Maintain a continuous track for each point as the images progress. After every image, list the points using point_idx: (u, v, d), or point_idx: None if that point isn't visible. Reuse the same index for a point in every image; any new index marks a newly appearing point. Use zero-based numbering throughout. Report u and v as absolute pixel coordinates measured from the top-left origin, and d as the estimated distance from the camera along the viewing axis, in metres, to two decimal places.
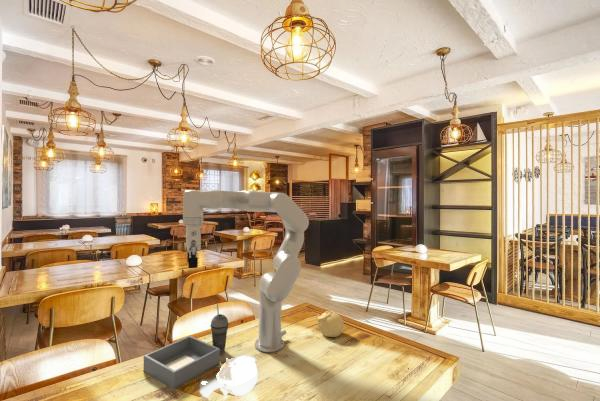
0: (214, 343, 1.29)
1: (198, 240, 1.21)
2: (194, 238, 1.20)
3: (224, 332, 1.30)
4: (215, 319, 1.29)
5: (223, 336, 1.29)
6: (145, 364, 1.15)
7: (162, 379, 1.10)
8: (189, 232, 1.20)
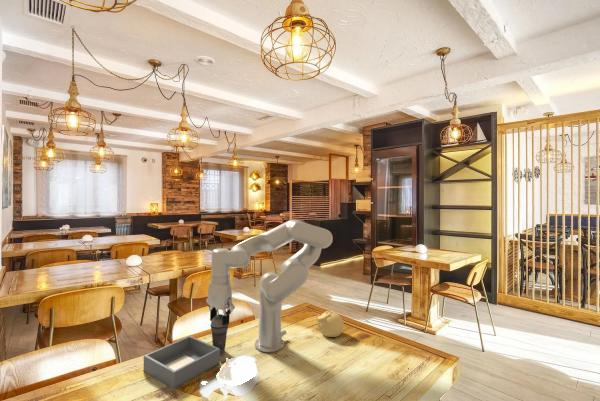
0: (214, 343, 1.29)
1: None
2: None
3: (224, 332, 1.30)
4: (215, 319, 1.29)
5: (223, 336, 1.29)
6: (145, 364, 1.15)
7: (162, 379, 1.10)
8: None
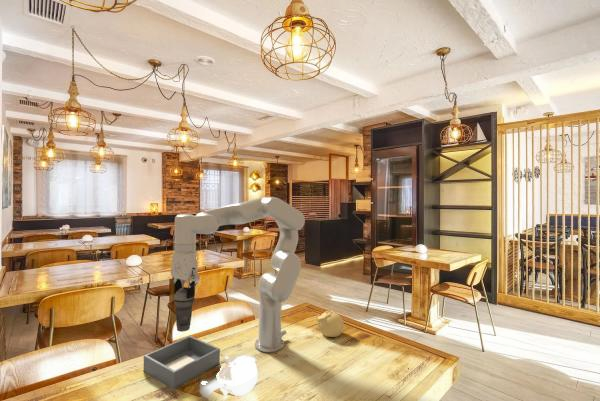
0: (177, 318, 1.17)
1: None
2: None
3: (189, 306, 1.17)
4: (179, 292, 1.17)
5: (187, 311, 1.17)
6: (145, 364, 1.15)
7: (162, 379, 1.10)
8: None
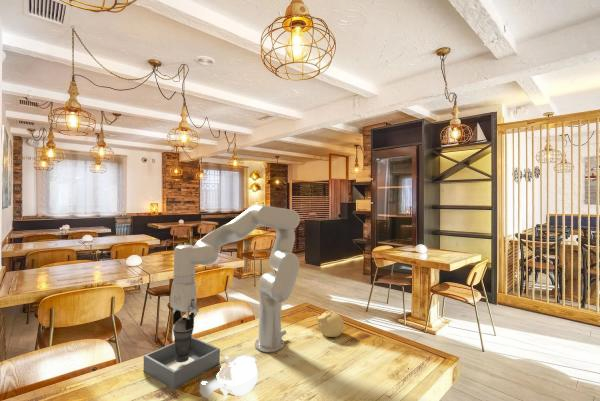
0: (176, 349, 1.17)
1: None
2: None
3: (188, 337, 1.17)
4: (178, 323, 1.17)
5: (186, 342, 1.17)
6: (145, 364, 1.15)
7: (162, 379, 1.10)
8: None
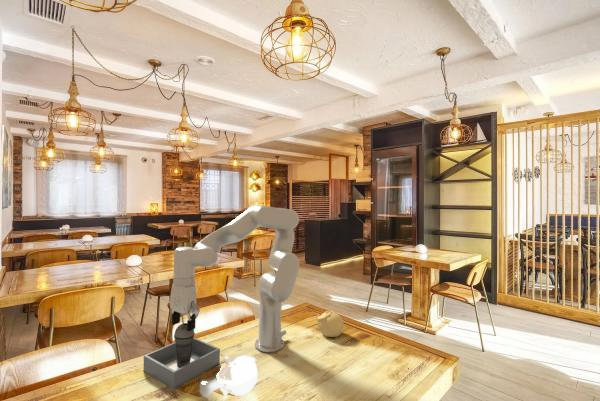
0: (177, 355, 1.17)
1: None
2: None
3: (189, 343, 1.17)
4: (179, 329, 1.17)
5: (187, 347, 1.17)
6: (145, 364, 1.15)
7: (162, 379, 1.10)
8: None
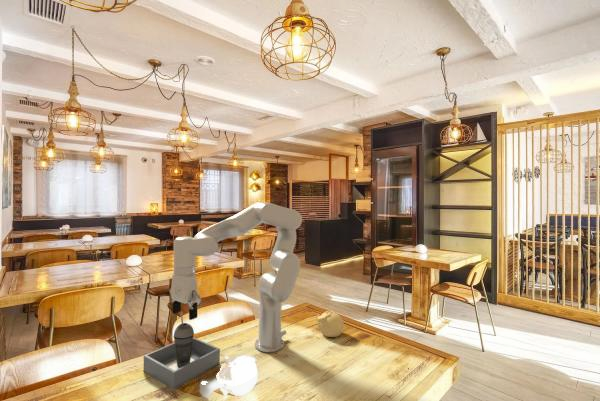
0: (177, 355, 1.17)
1: None
2: None
3: (188, 343, 1.17)
4: (178, 329, 1.17)
5: (187, 347, 1.17)
6: (145, 364, 1.15)
7: (162, 379, 1.10)
8: None
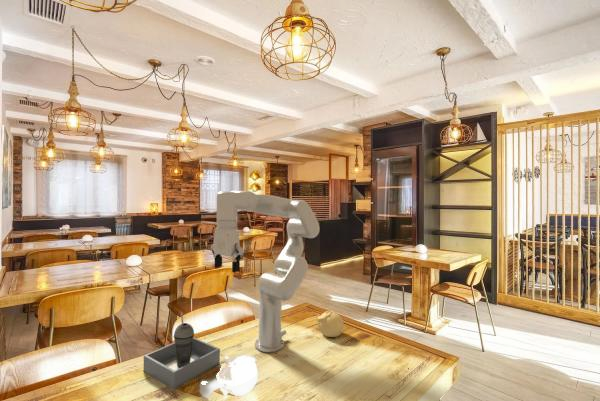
0: (177, 355, 1.17)
1: None
2: None
3: (189, 343, 1.17)
4: (178, 329, 1.17)
5: (187, 347, 1.17)
6: (145, 364, 1.15)
7: (162, 379, 1.10)
8: None
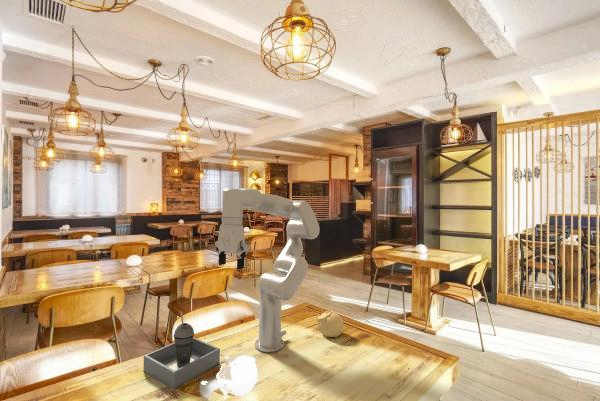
0: (177, 355, 1.17)
1: None
2: None
3: (188, 343, 1.17)
4: (178, 329, 1.17)
5: (187, 347, 1.17)
6: (145, 364, 1.15)
7: (162, 379, 1.10)
8: None
